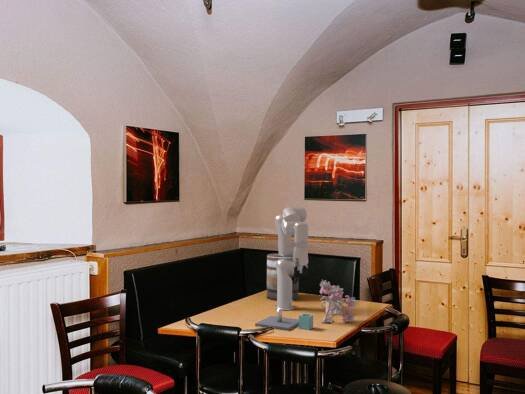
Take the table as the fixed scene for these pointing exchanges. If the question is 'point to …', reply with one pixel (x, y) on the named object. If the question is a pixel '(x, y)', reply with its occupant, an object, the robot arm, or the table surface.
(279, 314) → the duct stub
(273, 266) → the barrel
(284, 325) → the base plate
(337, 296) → the flower
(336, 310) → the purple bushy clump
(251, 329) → the table surface
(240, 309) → the table surface
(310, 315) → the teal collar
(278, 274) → the robot arm
